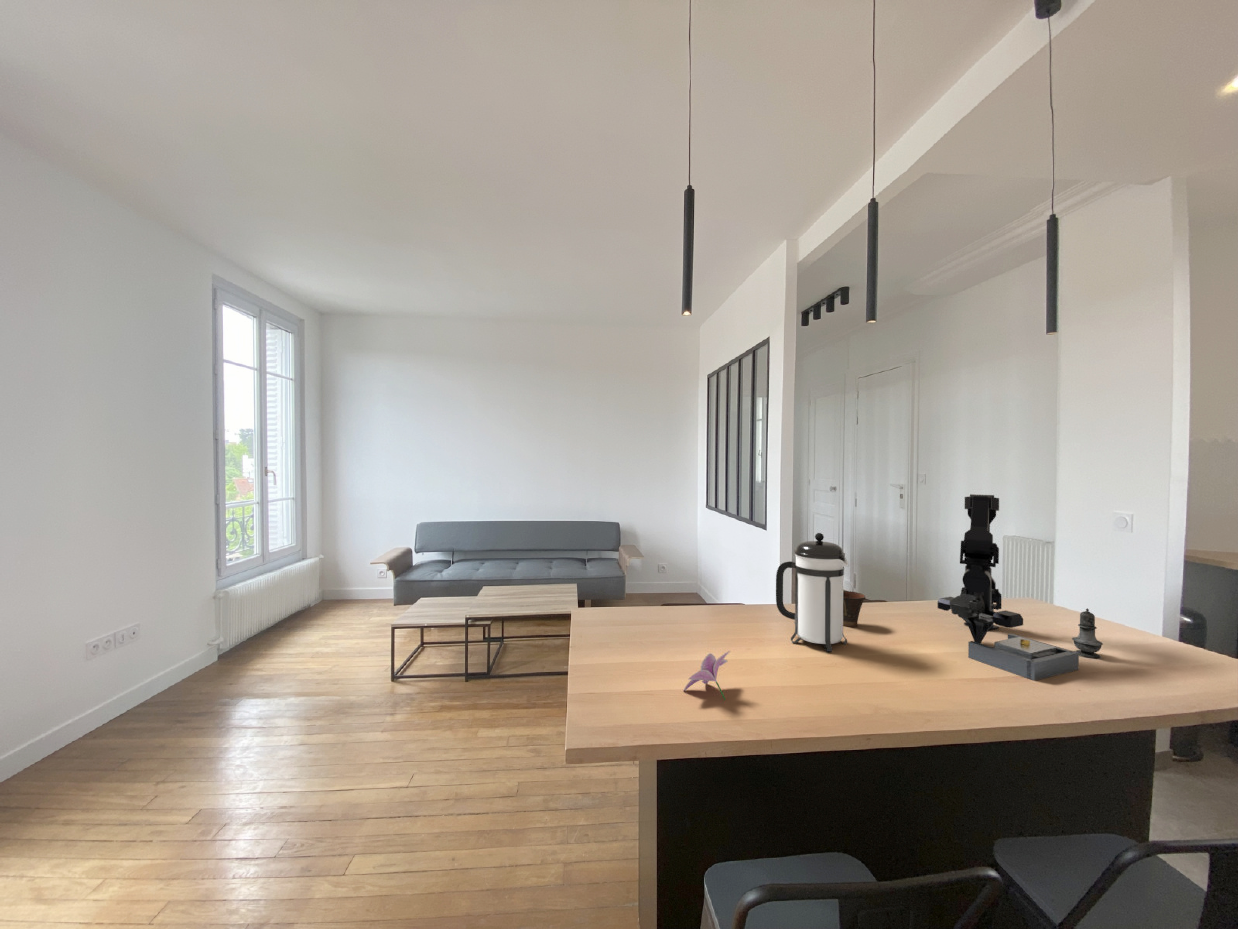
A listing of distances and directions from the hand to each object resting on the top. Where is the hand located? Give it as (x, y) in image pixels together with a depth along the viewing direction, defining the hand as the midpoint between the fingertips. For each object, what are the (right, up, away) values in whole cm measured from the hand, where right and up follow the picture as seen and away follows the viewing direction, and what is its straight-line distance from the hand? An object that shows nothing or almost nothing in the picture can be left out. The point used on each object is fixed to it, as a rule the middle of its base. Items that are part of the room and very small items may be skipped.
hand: (977, 643), depth 135 cm
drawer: (+4, -2, -10) cm, 11 cm away
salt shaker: (+25, -2, -4) cm, 26 cm away
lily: (-76, -1, -27) cm, 81 cm away
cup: (-25, -1, +20) cm, 32 cm away
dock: (+4, -1, -10) cm, 10 cm away
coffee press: (-42, -1, +4) cm, 42 cm away
